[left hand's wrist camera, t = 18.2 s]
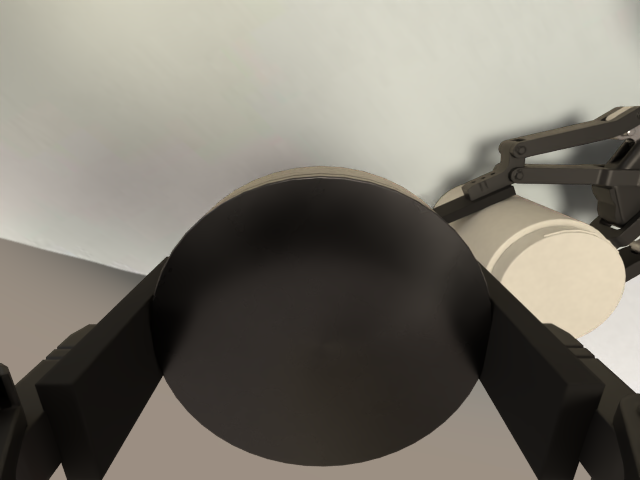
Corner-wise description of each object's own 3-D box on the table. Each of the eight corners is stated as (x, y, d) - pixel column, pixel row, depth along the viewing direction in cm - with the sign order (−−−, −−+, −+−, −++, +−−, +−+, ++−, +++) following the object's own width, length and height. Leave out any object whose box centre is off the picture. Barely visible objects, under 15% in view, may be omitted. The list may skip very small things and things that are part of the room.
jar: (519, 250, 38) (635, 331, 24) (436, 272, 39) (501, 363, 25) (507, 170, 35) (631, 207, 21) (419, 196, 36) (480, 248, 22)
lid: (317, 88, 10) (317, 84, 8) (530, 311, 12) (561, 342, 10) (113, 317, 12) (83, 348, 11) (323, 464, 14) (324, 508, 13)
